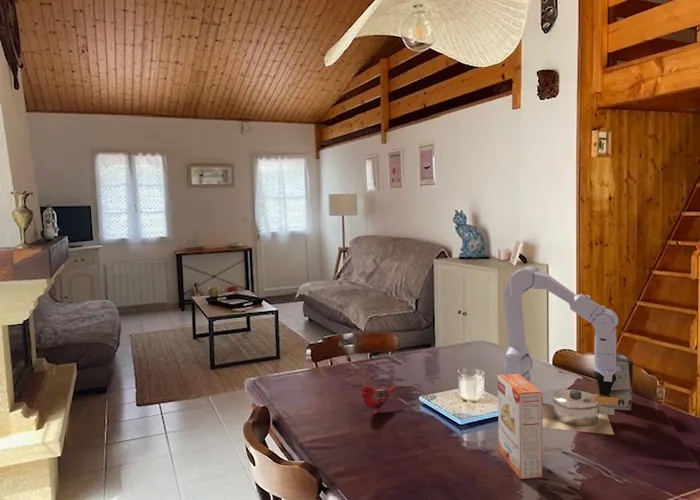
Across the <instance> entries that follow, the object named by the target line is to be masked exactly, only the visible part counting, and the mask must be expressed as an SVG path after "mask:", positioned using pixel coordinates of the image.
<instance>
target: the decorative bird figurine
mask: <svg viewBox="0 0 700 500" xmlns="http://www.w3.org/2000/svg"><path fill="white" fill-rule="evenodd" d="M397 387H398V384H395V385H394V386H392V387H390V388H389V389H388V390H387V389H380V388H379V389H378V388H377V389H376V388H373V387H372V386H371V385H364V386H363V387H362V389H361V393H360V396H362V398H363V402H364V403H365V406H367V407H368V408H369V409H373V410H375V409H376V410H375V411H373V413H370V414H369V415H370V416H371V415H376V414H377V413H379V412H380V411H381V409H380V408H381V407H382V406H383V405H385V403H386V402H387V400H388V399H389V396H390V395H391V393H392V392H393V391H394V390H395V389H396V388H397Z"/></svg>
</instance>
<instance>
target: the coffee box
mask: <svg viewBox="0 0 700 500" xmlns="http://www.w3.org/2000/svg"><path fill="white" fill-rule="evenodd" d="M616 367H620V369H621V371H616V372H615V376H616V381H615V382H614V384H613V386H612V389H611V393H610V395H616V396H617V397H618V405H613V404H606V405H613V406H614V411H617V410H619V411H632V410H633V382H634V381H633V380H634V379H633V375H634V373H633V372H634V371H633V370H634V361H633V360H632V359H630V358H629V357H628V356H627V355H626V354H625V353H616Z"/></svg>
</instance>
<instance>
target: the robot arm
mask: <svg viewBox="0 0 700 500" xmlns="http://www.w3.org/2000/svg"><path fill="white" fill-rule="evenodd" d="M531 288H532V289H534V290H546V291H548V292H550V293H551V294H553V295H554V296H556V297H558V298H560V299H561V300H563V301H565V302H566V303H568V305H569V308H570V310H571V311H572V312H574V313H575V314H577V315H578V316H580V317H581V318H582V319H584V320H585V321H587V322H588V323H591V325H592V327H593V329H594V339H593V340H594V341H593V342H594V345H593V346H594V347H593V348H594V351H593V366H592V367H593V370H594V372H593V375H594V378H595V380H596V383H597V387H598V392H599V394H601V395H610V393H611V389H612V386H613V384H614V382H615V381H616V376H615V372H616V371H621V369H620V367H616V354H617V328H616V327H617V326H618V324H619V317H618V315H617V314H616V312H615V311H613V309H610V308H606V306H605V305H600V304H598V303H597V302H595V301H594V300H592V299H591V298H592V297H591V295H589V294H586V295H585V294H583V293H580V294H576V293H574V292H573V291H571V289H569V288H568V287H566V286H565V285H563V284H562V283H560V282H559V281H558V280H556V279H555V278H554V277H553V276H551V275H550V274H549V273H547V272H546V271H544V270H543V269H540V268H539V267H537V266H534V265H528V266H526V267H524V268H519V269H517V270H516V271H514V272H513V273H512V274H510V275H509V280H508V281H507V284H506V286H505V288H504V291H503V300H504V303H503V304H504V312H505V321H506V322H505V323H506V333H507V334H506V335H507V344H508V345H507V350H506V353H505V362H504V364H503V370H504V373H505V374H519V375H521V376H522V377H523V378H524V379H526V380H527V381H528V382H529V383H531V373H530V371H531V370H532V369H533V365H534V363H533V361H534V360H533V359H532V357H531V356H530V350H529V348H528V347H527V346H526V345H527V344H526V335H525V325H524V324H525V323H524V312H523V302H522V297H523V296H524V295H525V294H526V293H527V292H528V291H529V289H531Z"/></svg>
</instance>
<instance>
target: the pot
mask: <svg viewBox="0 0 700 500" xmlns="http://www.w3.org/2000/svg"><path fill="white" fill-rule="evenodd" d="M552 401H553V400H552ZM552 406H553V417H554V419H555V420H557V421H558V422H560V423H563V424H566V425H570V426H576V427H589V426H594V425H596V424H597V423H598V413H599V414H607V416H608V415H610V416H615V410H614V406H613V405H607V404H599V406H597V407H595V408H590V409H576V408H569V407H565V406H562V405H559V404H557V403H555V402H554V401H553V404H552Z"/></svg>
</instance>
